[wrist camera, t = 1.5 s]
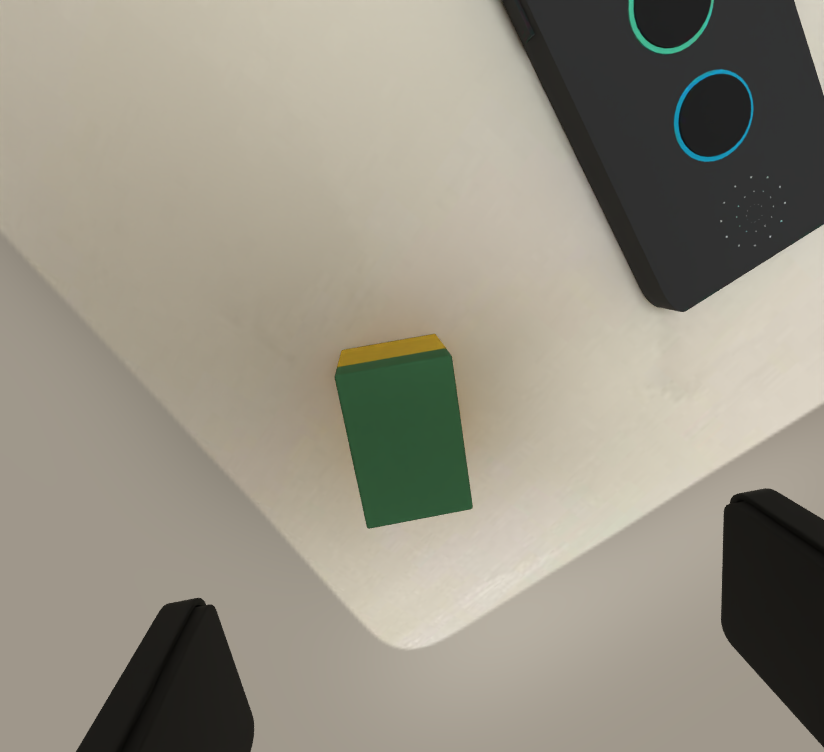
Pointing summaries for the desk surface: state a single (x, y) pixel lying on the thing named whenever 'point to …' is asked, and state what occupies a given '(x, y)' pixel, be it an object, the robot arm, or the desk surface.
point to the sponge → (404, 429)
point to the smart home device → (686, 129)
